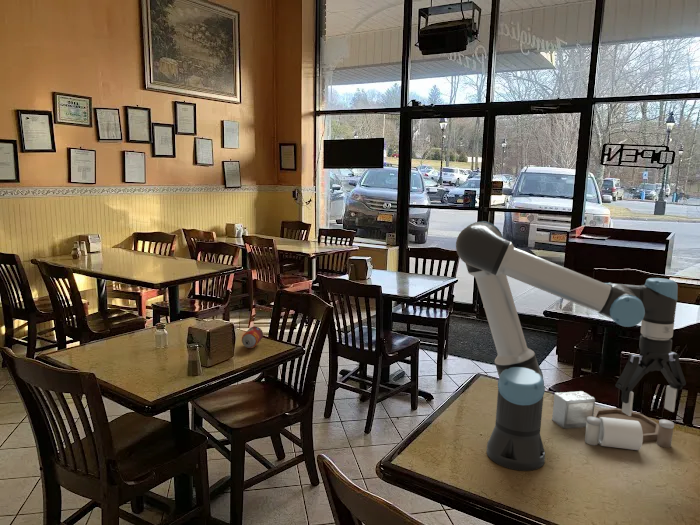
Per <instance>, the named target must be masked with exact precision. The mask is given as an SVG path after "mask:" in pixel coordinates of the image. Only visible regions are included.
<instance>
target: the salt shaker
mask: <svg viewBox="0 0 700 525" xmlns="http://www.w3.org/2000/svg"><path fill="white" fill-rule="evenodd" d="M600 425H601V420H600V419H599V418H596V417H587V424H586V427H585V435H584V443H586V444H587V445H591V446H598V445H599V433H600Z"/></svg>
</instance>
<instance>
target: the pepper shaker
mask: <svg viewBox="0 0 700 525" xmlns="http://www.w3.org/2000/svg"><path fill="white" fill-rule="evenodd" d="M658 424H659V428H658V435H657V440H656V445H657V446H659V447H660V448H661V447H662V448H665V449H670V448H671V447H672V442H673V434H674V428H675V422H673V421H671V420H668V419H664V418H663V419H659V420H658Z"/></svg>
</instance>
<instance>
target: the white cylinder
mask: <svg viewBox="0 0 700 525" xmlns="http://www.w3.org/2000/svg"><path fill="white" fill-rule="evenodd" d="M599 419H600V420H601V425H600V433H599V442H598V445H600V446H601V447H607V448H608V447H609V448H616V449H617V448H618V449H625V450H632V451H633V450H634V451H640V450H641V448H642V446H643V442H644V441H643V431H642V427H641V424H640V422H639V421H634V420H625V419H616V418H607V417H600V418H599Z"/></svg>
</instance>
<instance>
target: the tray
mask: <svg viewBox="0 0 700 525" xmlns="http://www.w3.org/2000/svg"><path fill="white" fill-rule="evenodd" d="M593 417H596V418H600V417H607V418H616V419H625V420H634V421H639V422H640V424H641V427H642V431H643V442H646V441H647V442H649V441H657V435H658V428H659V422H656V421H655V420H653V419H651V418H649V417H648V416H646V415H644V414H643V413H639V412H634V411H632V414H631V416H628V415H626V414H625V413H623V412H622V408H617V407H611V408H598V409H597V408H596V409H594V416H593Z"/></svg>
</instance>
